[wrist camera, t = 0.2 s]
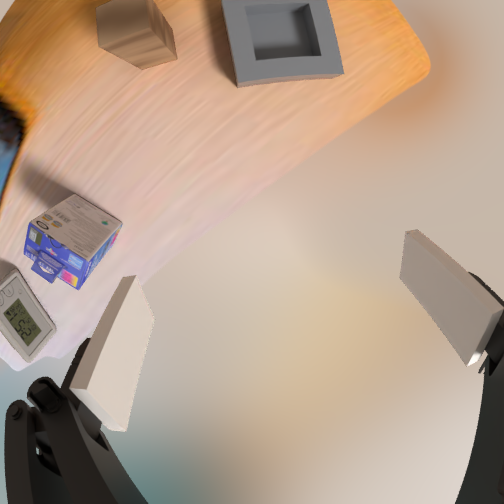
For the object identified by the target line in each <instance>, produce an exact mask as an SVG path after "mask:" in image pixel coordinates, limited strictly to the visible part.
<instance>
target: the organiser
mask: <svg viewBox="0 0 504 504" xmlns="http://www.w3.org/2000/svg"><path fill="white" fill-rule="evenodd" d="M221 8H222V12H223V17H224V22H225V27H226V32H227V37H228V42H229V47H230V52H231V57H232V62H233V67H234V72H235V78H236V83H237V88H240V87H246V86H253V85H260V84H267V83H276V82H285V81H297V80H311V79H332V78H335V77H337V76H340V75H342V74H344V71H343V66H342V61H341V56H340V51H339V47H338V42H337V38H336V34H335V30H334V26H333V22H332V18H331V14H330V10H329V7H328V3H327V0H221Z"/></svg>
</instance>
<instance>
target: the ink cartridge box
mask: <svg viewBox="0 0 504 504" xmlns="http://www.w3.org/2000/svg"><path fill="white" fill-rule="evenodd" d="M121 227H122V222H120V221H118V220H117V219H115V218H113V217H112V216H110V215H108V214H107V213H105V212H103V211H102V210H100V209H98V208H97V207H95V206H94V205H92V204H90V203H89V202H87V201H85V200H84V199H82V198H81V197H79V196H77V195H76V194H73V195H72V196H70V197H68V198H67V199H65V200H63V201H62V202H60V203H58V204H57V205H55V206H54V207H52V208H51V209H49V210H47V211H46V212H44V213H43V214H41V215H40V216H38V217H37V218H35V219H34V220H32V221H31V222H30V223H29V225H28V230H27V236H26V241H25V247H24V255H26V256H27V257H29V258H30V259H31V260H33V261H34V264H33V266H32V267H31V269H32V270H33V271H34V272H36V273H37V274H39V275H40V276H41V277H43V278H44V279H46V280H47V281H48V282H50V283H51V284H52V283H53V282H54V280H55V279H56V277H58V278H60V279H61V280H63V281H64V282H66V283H68V284H69V285H71V286H72V287H74V288H75V289H77V290H79V289H80V288H81V286H82V285H83V283H84V282H85V281H86V279H87V278H88V276H89V275H90V274H91V272H92V271H93V270H94V268H95V267H96V266H97V264H98V263H99V262H100V260H101V259H102V258H103V257H104V255H105V254H106V253H107V252H108V250H109V249H110V248H111V247H112V246H113V244H114V242H115V240H116V237H117V235H118V233H119V231H120V229H121ZM38 264H39V265H40V266H42V267H43V268H45V269H46V270H48V271H49V272H51V273H52V274H49V273H46V272H44V271H43V270H42V269H41V268H40V266H39V265H38Z"/></svg>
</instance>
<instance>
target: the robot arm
mask: <svg viewBox="0 0 504 504" xmlns="http://www.w3.org/2000/svg"><path fill="white" fill-rule="evenodd" d="M400 279H401V280H402V281H403V283H404V284H405V285H406V286H407V287H408V289H409V290H410V291H411V292H412V293H413V295H414V296H415V297H416V298H417V300H418V301H419V302H420V304H421V305H422V306H423V307H424V309H425V310H426V311H427V312H428V314H429V315H430V316H431V317H432V319H433V320H434V322H435V323H436V324H437V326H438V327H439V328H440V330H441V331H442V332H443V334H444V335H445V336H446V338H447V339H448V340H449V342H450V343H451V345H452V346H453V348H454V349H455V350H456V352H457V353H458V355H459V356H460V358H461V359H462V361H463V362H464V364H465V365H466V366H469V365H471V364H473V363H474V362H476V361H478V360H479V359H480V357H481V355H482V354H483V352H484V350H485V351H486V352H487V353H488V355H487V357H486V359H485V361H484V362H483V364H482V366H481V367H480V369H479V372H478V373H481V371H482V370H483V368H484V367H485V372H484V384H483V394H482V402H481V408H480V414H479V420H478V426H477V431H476V435H475V440H474V444H473V448H472V453H471V456H470V460H469V464H468V467H467V471H466V474H465V477H464V480H463V483H462V486H461V489H460V491H459V494H458V497H457V500H456V502H455V504H504V301H503V300H502V299H501V298H500V297H499V296H498V295H497V294H496V293H495V292H494V291H493V290H491V288H490V287H489V286H488V285H485V283H484V282H483V281H482V280H481V279H480V278H479V277H478V276H476V275H474V274H472V273H470V272H467V271H466V270H465V269H464V268H463V267H461V266H460V265H459V264H458V263H457V262H456V261H455V260H454V259H452V258H451V257H450V256H449V255H448V254H447V253H445V252H444V251H443V250H442V249H441V248H439V247H438V246H437V245H436V244H435V243H434V242H432V241H431V240H430V239H429V238H427V237H426V236H425V235H424V234H422V233H421V232H420V231H419V230H411V231H406V232H405V240H404V250H403V258H402V266H401V272H400ZM154 321H155V318H154V316H153V314H152V312H151V310H150V307H149V304H148V302H147V300H146V298H145V295H144V293H143V290H142V288H141V285H140V283H139V280H138V278H137V275H135V276H128V277H123V278H122V280H121V282H120V283H119V285H118V287H117V289H116V291H115V292H114V294H113V296H112V298H111V300H110V302H109V304H108V306H107V307H106V309H105V311H104V313H103V315H102V317H101V319H100V321H99V323H98V325H97V327H96V329H95V331H94V334H93V336H92V338H87V339H86V340H85V341H84V342H83V343H82V344H81V345H80V346H79V348H78V350H77V353H76V354H75V358H74V359H73V361H72V365H70V367H69V370H68V372H67V374H66V376H65V379H64V381H63V383H62V386H61V388H59V387H58V386H57V385H56V383H55V382H54V381H53V380H52V379H51V378H49V377H41V378H38V379H37V380H35V381H34V382H33V383H32V385H31V386H30V387H29V389H28V392H27V399H28V400H29V401H30V402H31V403H32V404H33V405H34V406H35V407H29V405H28V404H27V403H26V402H25V401H23V400H16V401H14V402H13V403H11V405H10V406H9V408H8V409H7V413H6V420H5V443H4V444H5V449H4V451H5V453H4V455H5V478H6V490H7V498H8V504H148V502H147V501H146V500H145V498H144V497H143V496H142V494H141V493H140V492H139V490H138V489H137V487H136V486H135V484H134V483H133V482H132V480H131V479H130V477H129V475H128V474H127V473H126V471H125V469H124V468H123V466H122V464H121V463H120V461H119V460H118V458H117V456H116V455H115V453H114V451H113V449H112V448H111V446H110V444H109V442H108V440H107V439H106V437H105V435H104V433H103V432H102V431H101V430H100V428H101V424H102V423H103V424H104V425H105V426H106V427H107V428H108V429H109V430H115V431H125V432H126V430H127V426H128V421H129V416H130V411H131V408H132V403H133V399H134V395H135V391H136V386H137V382H138V379H139V375H140V371H141V367H142V363H143V360H144V356H145V352H146V349H147V345H148V342H149V338H150V335H151V331H152V328H153V325H154ZM36 447H37V448H38V449H39V455H38V454H37V453H36Z"/></svg>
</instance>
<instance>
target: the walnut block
mask: <svg viewBox="0 0 504 504" xmlns="http://www.w3.org/2000/svg"><path fill="white" fill-rule="evenodd" d="M96 21H97V34H98V44H99V47H100V48H102V49H104V50H106V51H108V52H110V53H112V54H114V55H116V56H118V57H119V58H121V59H123V60H125V61H127V62H129V63H131V64H132V65H134V66H136V67H138V68H140V69H141V70H143V69H147V68H150V67H153V66H156V65H159V64H163V63H166V62H170V61H173V60H177V54H176V48H175V42H174V36H173V30H172V28H171V27H170V25H169V24H168V22H167V21H166V19H165V18H164V16H163V15H162V13H161V12H160V10H159V9H158V7H157V6H156V4H155V3H154V1H153V0H112V1H110V2H107V3H105V4H103V5H100V6H98V7H96Z"/></svg>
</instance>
